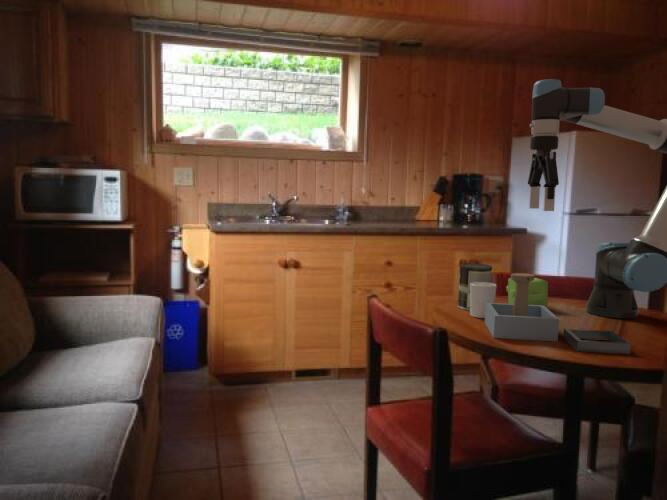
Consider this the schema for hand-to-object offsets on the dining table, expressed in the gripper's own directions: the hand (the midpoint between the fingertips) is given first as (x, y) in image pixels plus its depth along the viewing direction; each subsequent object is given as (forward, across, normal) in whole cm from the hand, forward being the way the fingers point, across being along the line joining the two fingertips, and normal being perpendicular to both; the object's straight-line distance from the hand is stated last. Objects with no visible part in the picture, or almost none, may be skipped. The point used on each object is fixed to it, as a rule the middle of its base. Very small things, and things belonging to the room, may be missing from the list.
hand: (541, 209), depth 165 cm
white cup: (+33, -5, -15) cm, 37 cm away
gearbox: (+34, -22, +2) cm, 40 cm away
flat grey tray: (+34, +24, +8) cm, 42 cm away
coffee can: (+33, -16, -15) cm, 40 cm away
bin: (+33, +13, -8) cm, 36 cm away
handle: (+32, +13, -8) cm, 36 cm away
